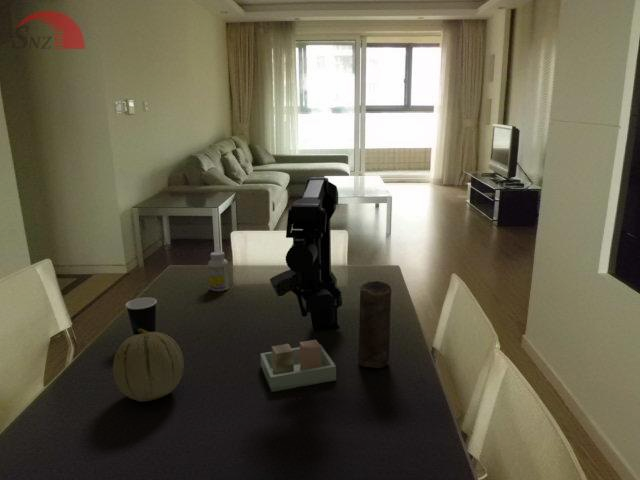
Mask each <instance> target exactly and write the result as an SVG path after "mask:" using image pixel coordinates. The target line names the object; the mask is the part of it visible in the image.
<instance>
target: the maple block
mask: <svg viewBox="0 0 640 480" xmlns="http://www.w3.org/2000/svg"><path fill="white" fill-rule="evenodd" d="M271 352H272V360H273V371H274V373H275V375H277V374H283V373H289V372H294V360H293V350H292V346H291V345H290V344H289V343H284V344H278V345H271Z"/></svg>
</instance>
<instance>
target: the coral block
mask: <svg viewBox="0 0 640 480" xmlns="http://www.w3.org/2000/svg"><path fill="white" fill-rule="evenodd" d="M319 344H320V343H319V342H318V340H317V339H311V340H306V341H299V347H300V365H301V367H302V369H303V370H306V369H312V368H318V367H321V346H322V345H321V346H320V345H319Z"/></svg>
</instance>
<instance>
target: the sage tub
mask: <svg viewBox="0 0 640 480" xmlns="http://www.w3.org/2000/svg"><path fill="white" fill-rule="evenodd" d="M319 345H320V346H321V367H318V368H312V369H306V370H303V369H302V367H301V365H300V346H298V347H293V348H292V347H291V348H292V350H293V360H294V372H289V373H283V374H277V375H275V373H274V371H273V360H272V351H268V352H262V353H260V367H261V370H262V372H263V374H264V377H265V379H266V381H267V384H268V386H269V389H270V392H271V393H272V392H278V391H283V390H289V389H290V390H291V389H294V388H300V387H307V386H311V385H316V384H321V383H322V384H323V383H327V382H333V381H337V366H336V364H335V362H333V360H332V358H331V357H330V355H329V354H328V353H327V351H326V350H325V348H324V347H323V345H322V344H320V343H319Z"/></svg>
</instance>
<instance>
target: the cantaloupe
mask: <svg viewBox="0 0 640 480" xmlns="http://www.w3.org/2000/svg"><path fill="white" fill-rule="evenodd" d="M137 332H141V333H140V334H137V335H134V334H133V335H132V336H130V337H127V338H126V339H125V340H124V341H123V342H122V343H121V344H120V345H119V348H118V349H117V351H116V353H115V355H114V358H113V362H112V363H113V364H112V372H113V379H114V381H115V384H116V386H117V388H118V389H119V391H120V392H121V393H122V394H123V395H125V396H126V397H127V398H129V399H132V400H134V401H137V402H141V403H142V402H143V403H144V402H150V401H155V400H157V399H160V398H163V397H164V396H167V395H168V394H170V393H171V392H173V390H175V389H176V387H177V385H178V384H179V383H180V381H181V380H182V377H183V374H184V366H185V360H184V355H183V352H182V350H181V347H180V346H179V344H178V343H177V342H176V340H174V338H172V337H171V336H169V335H168V334H166V333H162V332H159V331H156V332H147V331H145V330H144V329H138V330H137Z"/></svg>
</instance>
